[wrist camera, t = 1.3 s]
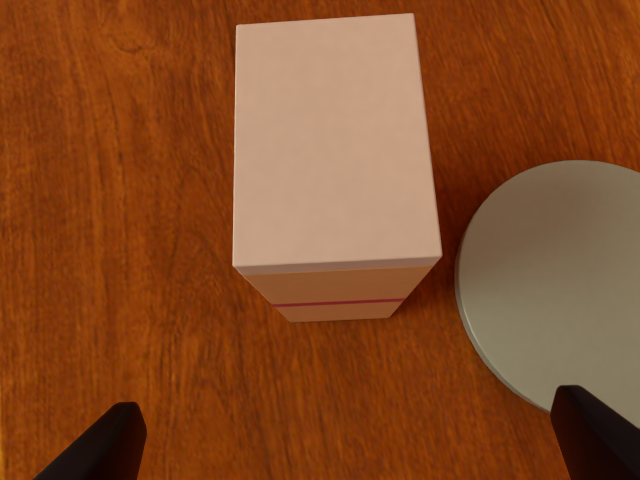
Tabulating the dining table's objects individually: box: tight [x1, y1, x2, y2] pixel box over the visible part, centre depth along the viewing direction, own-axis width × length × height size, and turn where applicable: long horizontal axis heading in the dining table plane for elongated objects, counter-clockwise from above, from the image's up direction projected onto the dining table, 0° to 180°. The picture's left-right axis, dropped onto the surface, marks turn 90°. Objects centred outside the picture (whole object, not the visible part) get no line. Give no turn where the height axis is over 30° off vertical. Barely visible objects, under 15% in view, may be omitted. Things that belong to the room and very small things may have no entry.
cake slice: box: [233, 13, 443, 322], centre depth 18 cm, size 7×5×13 cm
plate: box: [454, 160, 640, 428], centre depth 22 cm, size 13×13×1 cm
